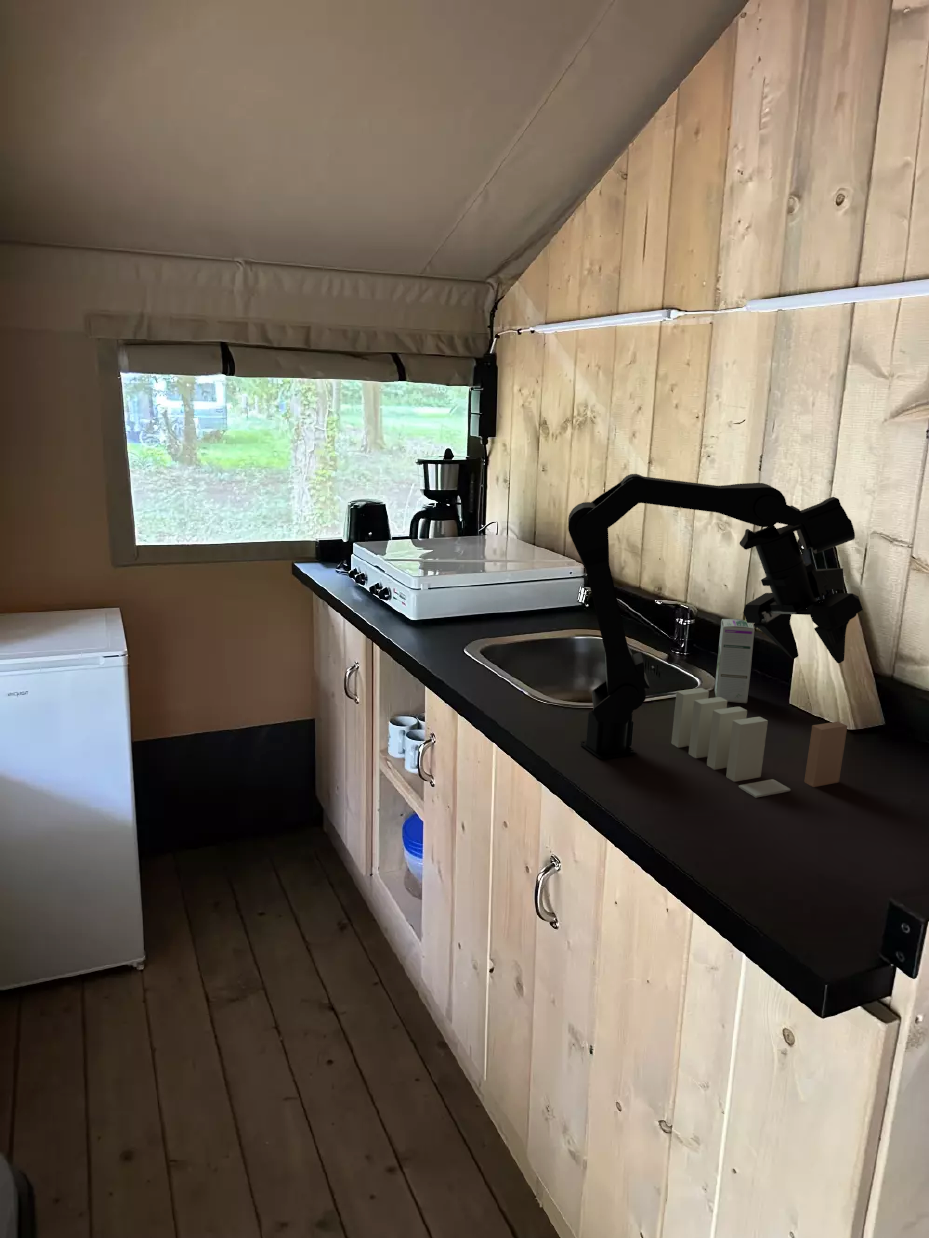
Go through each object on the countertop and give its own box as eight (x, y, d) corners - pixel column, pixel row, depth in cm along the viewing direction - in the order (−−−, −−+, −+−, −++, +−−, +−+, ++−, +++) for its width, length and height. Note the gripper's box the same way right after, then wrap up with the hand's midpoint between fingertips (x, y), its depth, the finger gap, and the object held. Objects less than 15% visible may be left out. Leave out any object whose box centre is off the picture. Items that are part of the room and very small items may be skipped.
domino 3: (740, 765, 140) (747, 710, 138) (714, 769, 138) (720, 714, 136) (732, 760, 141) (739, 706, 139) (706, 765, 139) (712, 710, 137)
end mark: (755, 797, 129) (755, 795, 129) (738, 787, 132) (738, 785, 132) (790, 790, 131) (790, 789, 131) (772, 780, 135) (772, 779, 134)
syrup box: (747, 703, 167) (757, 628, 163) (714, 700, 168) (723, 625, 165) (744, 693, 173) (753, 620, 169) (712, 690, 174) (721, 617, 170)
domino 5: (838, 782, 135) (847, 725, 133) (813, 787, 133) (821, 729, 131) (829, 777, 137) (838, 721, 134) (804, 782, 135) (812, 725, 132)
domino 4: (760, 776, 136) (767, 720, 134) (734, 781, 134) (741, 724, 132) (752, 772, 137) (759, 716, 135) (726, 776, 135) (732, 720, 133)
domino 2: (721, 754, 144) (727, 700, 142) (695, 758, 142) (701, 704, 140) (714, 749, 145) (719, 696, 143) (688, 753, 143) (694, 700, 141)
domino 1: (703, 743, 148) (709, 691, 145) (678, 747, 146) (683, 694, 143) (696, 739, 149) (701, 687, 147) (671, 743, 147) (676, 691, 145)
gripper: (871, 539, 128) (905, 639, 131) (778, 545, 145) (810, 633, 148) (815, 573, 124) (851, 674, 127) (727, 575, 141) (760, 664, 144)
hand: (817, 659), depth 137 cm, fingers open, 9 cm apart
